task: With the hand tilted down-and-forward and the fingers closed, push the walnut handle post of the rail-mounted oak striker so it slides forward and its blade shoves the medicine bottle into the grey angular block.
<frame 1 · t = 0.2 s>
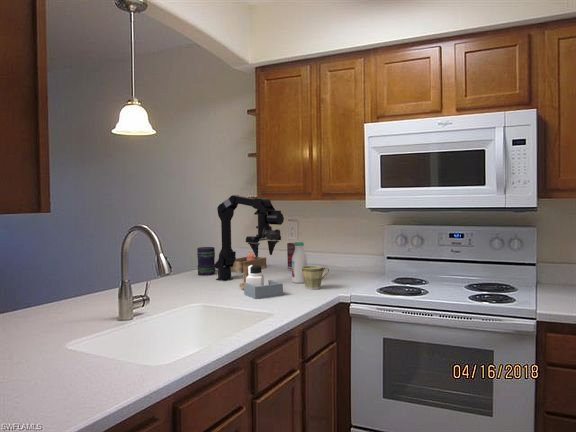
hand: (263, 255, 223), 14 cm above the worktop, tool pointing down, fingers open, 9 cm apart
pottery: (245, 269, 273), resting in dish holder
ceramic cup: (316, 288, 213), on the worktop
dish holder: (246, 269, 273), on the worktop
medicine bottle: (255, 292, 208), on the worktop
striker: (248, 277, 214), point 5 cm above the worktop, slide at 0.0 cm
rail: (245, 287, 217), on the worktop
grey angular block: (262, 294, 201), on the worktop
milk bottle: (299, 282, 229), on the worktop
supplement box: (295, 270, 266), on the worktop
storage jar: (206, 274, 257), on the worktop
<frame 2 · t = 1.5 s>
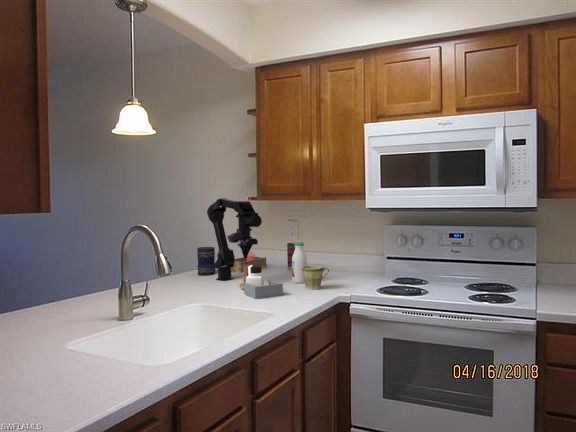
hand: (245, 258, 225), 13 cm above the worktop, tool pointing down, fingers closed
nothing on the worktop moved.
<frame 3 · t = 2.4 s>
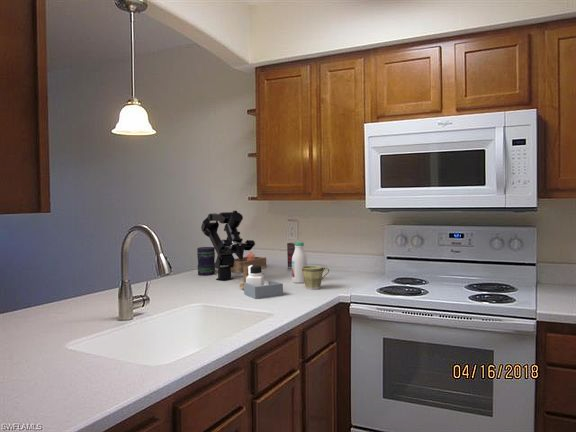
hand: (241, 259, 221), 13 cm above the worktop, tool tilted 40°, fingers closed
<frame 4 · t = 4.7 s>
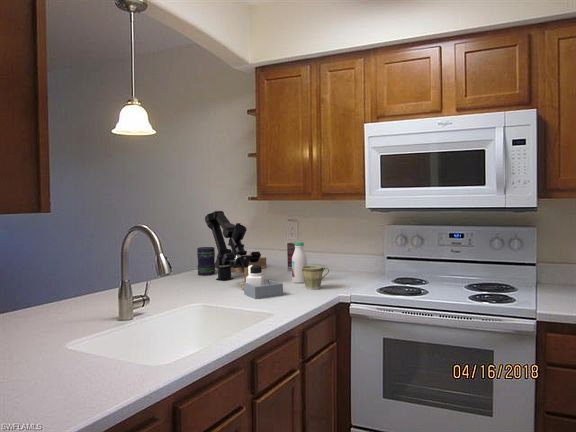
hand: (247, 272, 215), 8 cm above the worktop, tool tilted 45°, fingers closed, pressing on striker
striker: (249, 277, 213), point 5 cm above the worktop, slide at 0.9 cm, touching gripper
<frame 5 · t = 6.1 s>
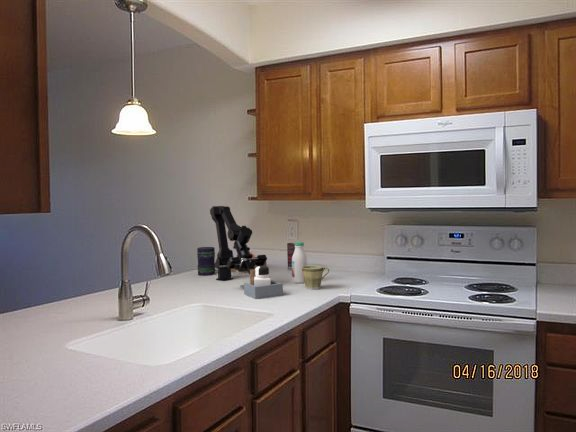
hand: (253, 275, 209), 7 cm above the worktop, tool tilted 45°, fingers closed, pressing on striker
medicine bottle: (262, 294, 203), on the worktop, touching striker
striker: (255, 279, 207), point 5 cm above the worktop, slide at 7.2 cm, touching gripper, medicine bottle
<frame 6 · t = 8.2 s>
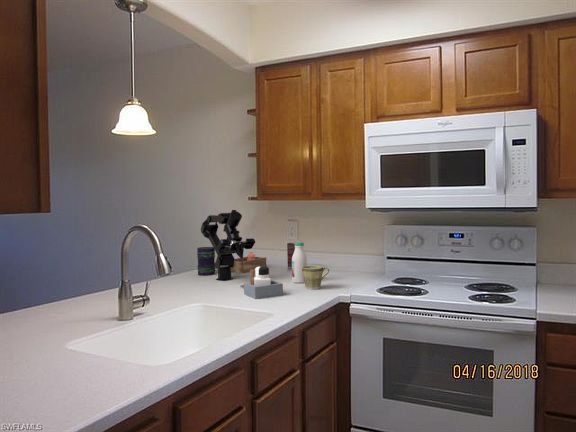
hand: (241, 257, 221), 14 cm above the worktop, tool tilted 45°, fingers closed
pottery: (245, 270, 272), resting in dish holder
medicine bottle: (262, 294, 203), on the worktop
striker: (255, 279, 207), point 5 cm above the worktop, slide at 7.2 cm
everything else where it was.
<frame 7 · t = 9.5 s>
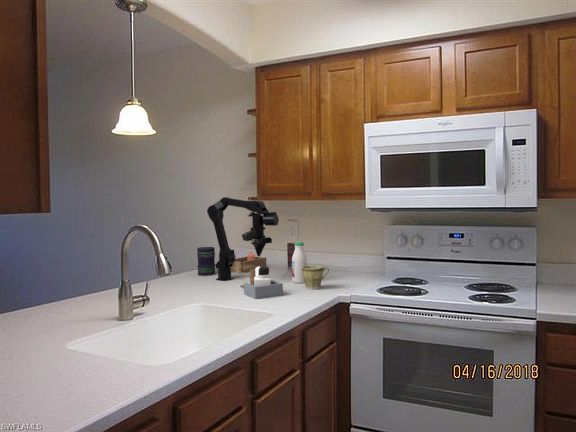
hand: (258, 256, 231), 13 cm above the worktop, tool pointing down, fingers closed
pottery: (245, 270, 272), resting in dish holder
everything else where it was.
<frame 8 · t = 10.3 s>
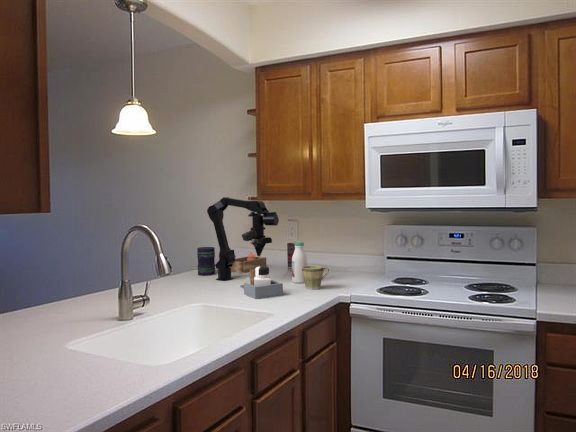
hand: (258, 256, 231), 13 cm above the worktop, tool pointing down, fingers closed
nothing on the worktop moved.
at the end: medicine bottle 1.8 cm from the grey angular block (horizontally); medicine bottle tilted 0°; striker slide at 7.2 cm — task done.
